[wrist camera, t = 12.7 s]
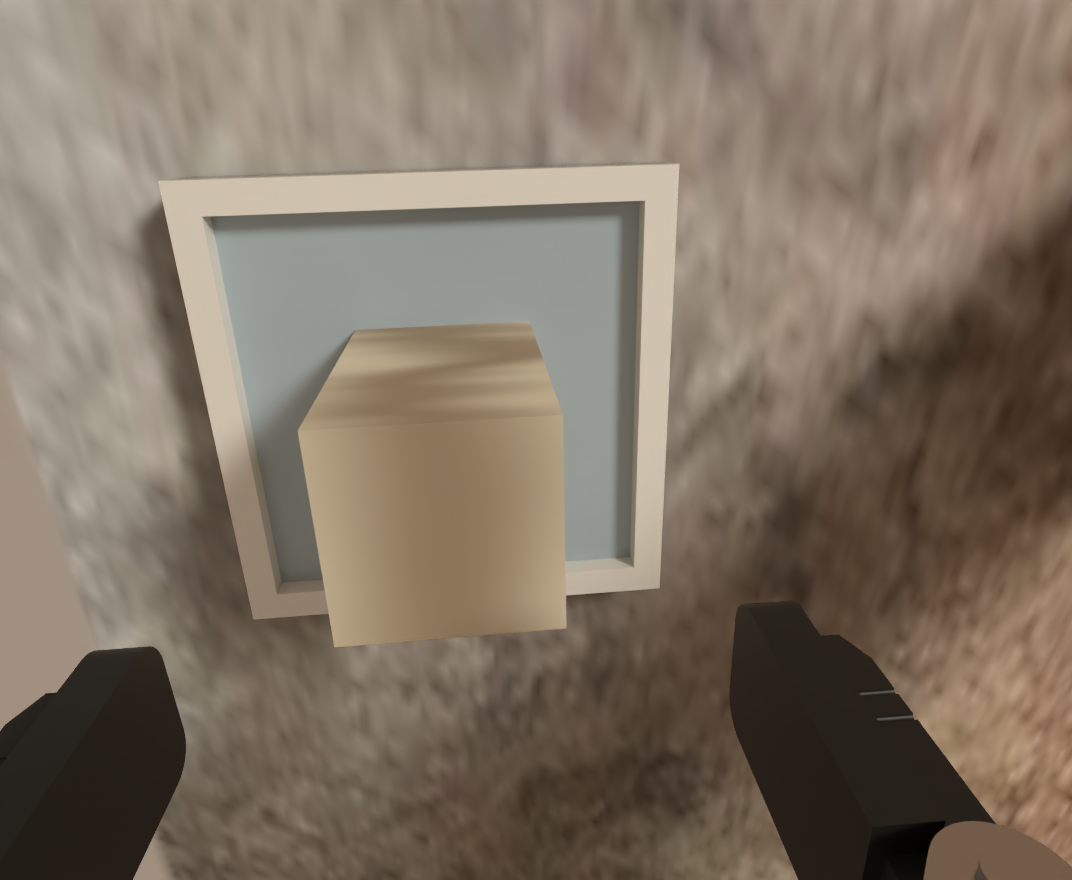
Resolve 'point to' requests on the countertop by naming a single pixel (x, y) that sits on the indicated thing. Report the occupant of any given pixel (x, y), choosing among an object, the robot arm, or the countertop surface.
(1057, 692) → the countertop surface
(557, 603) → the birch block
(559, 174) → the square picture frame
